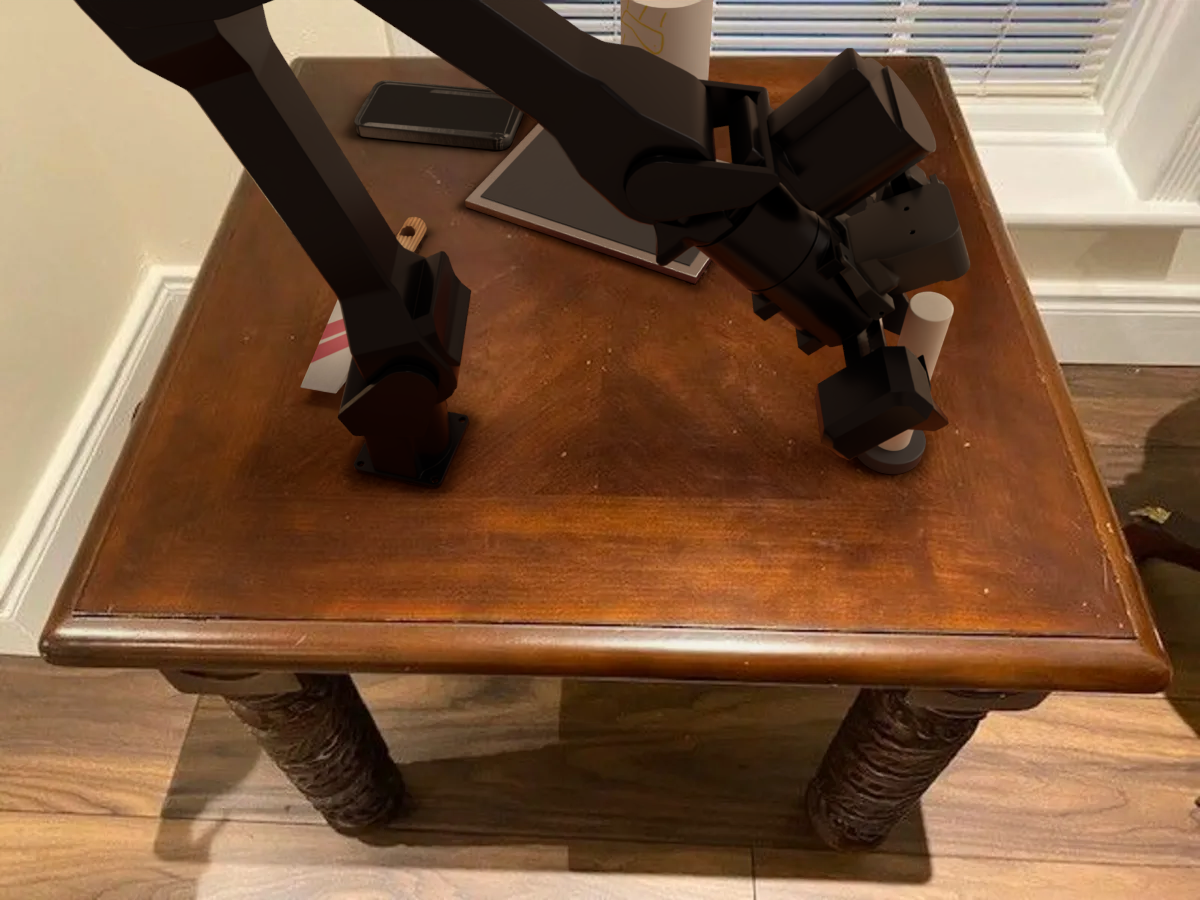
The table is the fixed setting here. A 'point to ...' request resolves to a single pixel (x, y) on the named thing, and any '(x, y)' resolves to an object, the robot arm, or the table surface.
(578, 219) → the tablet
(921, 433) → the peg on round base
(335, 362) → the paintbrush
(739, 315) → the table surface
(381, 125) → the phone
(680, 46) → the cup
